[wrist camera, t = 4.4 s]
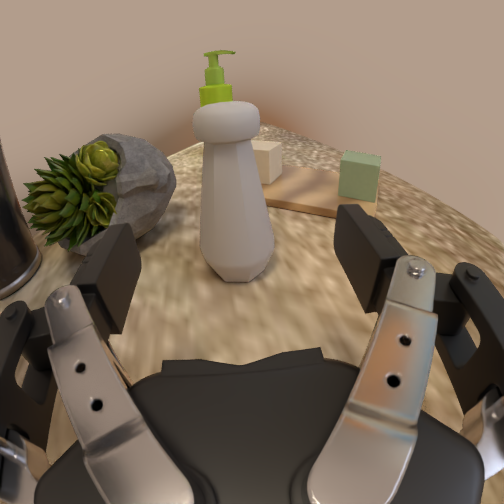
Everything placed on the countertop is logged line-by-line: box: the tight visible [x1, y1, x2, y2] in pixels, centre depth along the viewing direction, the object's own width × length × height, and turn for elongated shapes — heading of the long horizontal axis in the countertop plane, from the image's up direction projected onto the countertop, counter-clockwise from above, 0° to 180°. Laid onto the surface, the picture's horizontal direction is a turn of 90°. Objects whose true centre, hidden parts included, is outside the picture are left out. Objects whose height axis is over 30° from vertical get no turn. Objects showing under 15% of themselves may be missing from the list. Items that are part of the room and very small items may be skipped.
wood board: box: [261, 165, 379, 218], centre depth 35 cm, size 18×12×1 cm, turn 65°
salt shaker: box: [193, 101, 274, 282], centre depth 20 cm, size 6×6×13 cm
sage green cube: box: [338, 150, 381, 203], centre depth 31 cm, size 4×4×4 cm
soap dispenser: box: [199, 50, 235, 107], centre depth 47 cm, size 6×7×20 cm
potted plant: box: [22, 134, 176, 256], centre depth 24 cm, size 12×13×15 cm
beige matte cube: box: [251, 140, 282, 185], centre depth 36 cm, size 4×4×4 cm
